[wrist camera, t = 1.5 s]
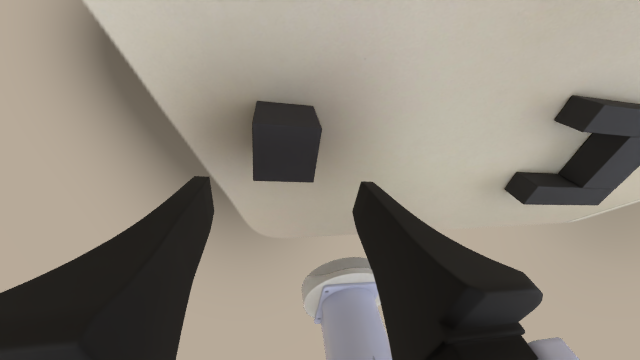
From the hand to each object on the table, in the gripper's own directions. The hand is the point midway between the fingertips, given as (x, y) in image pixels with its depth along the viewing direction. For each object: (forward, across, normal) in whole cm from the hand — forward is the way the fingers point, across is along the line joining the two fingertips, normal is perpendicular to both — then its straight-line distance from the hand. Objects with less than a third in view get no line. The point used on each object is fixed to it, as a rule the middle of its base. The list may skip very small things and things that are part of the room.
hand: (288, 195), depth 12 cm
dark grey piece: (+8, -29, 0) cm, 30 cm away
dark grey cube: (+8, 0, 0) cm, 8 cm away
